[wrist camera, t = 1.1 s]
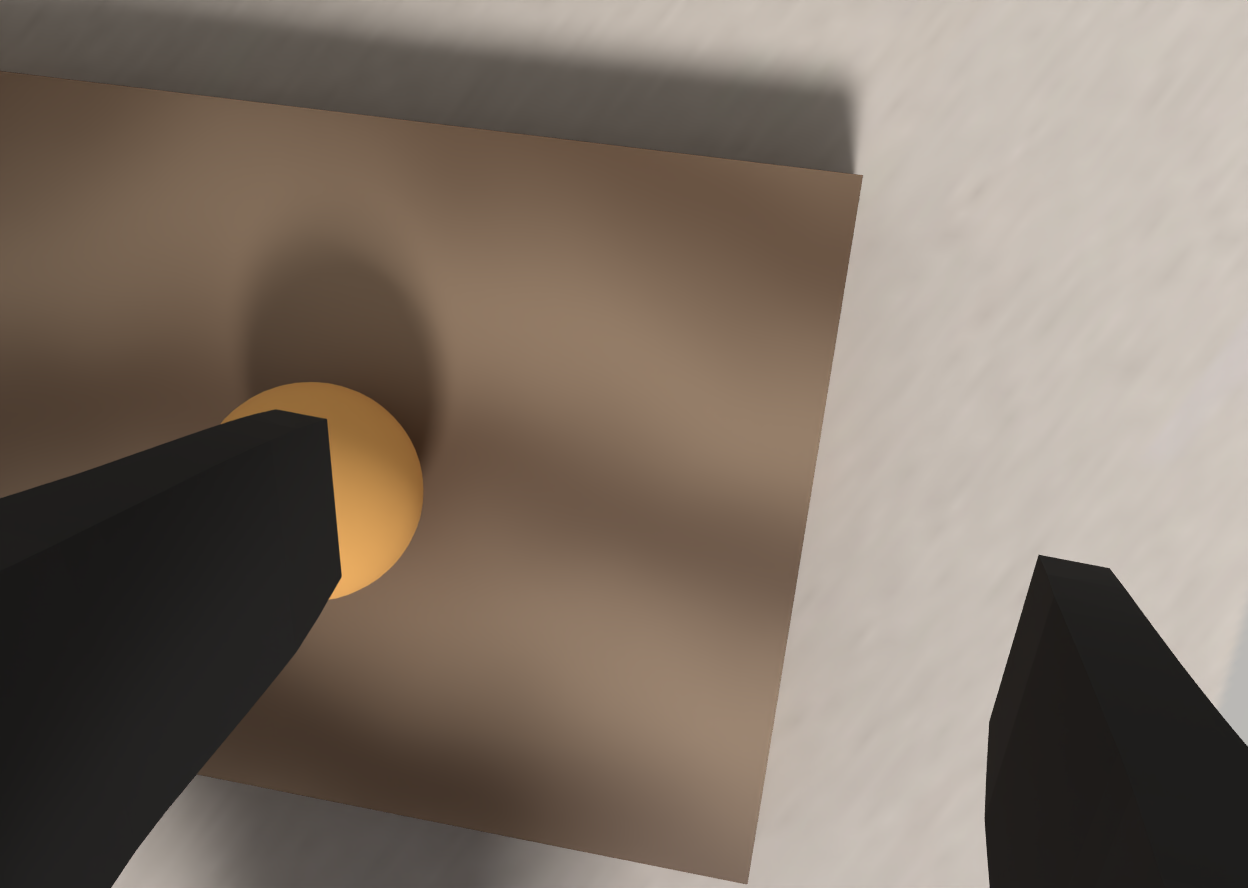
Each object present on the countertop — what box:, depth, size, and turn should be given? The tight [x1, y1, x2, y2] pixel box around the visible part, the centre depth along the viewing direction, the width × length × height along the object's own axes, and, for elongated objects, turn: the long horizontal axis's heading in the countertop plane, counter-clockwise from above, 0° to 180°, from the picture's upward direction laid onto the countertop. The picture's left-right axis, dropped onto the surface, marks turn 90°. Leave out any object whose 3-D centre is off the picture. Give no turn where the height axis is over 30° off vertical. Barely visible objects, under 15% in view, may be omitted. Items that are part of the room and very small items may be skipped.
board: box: [0, 71, 863, 884], centre depth 23 cm, size 14×26×2 cm, turn 82°
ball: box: [221, 382, 424, 600], centre depth 20 cm, size 4×4×4 cm
